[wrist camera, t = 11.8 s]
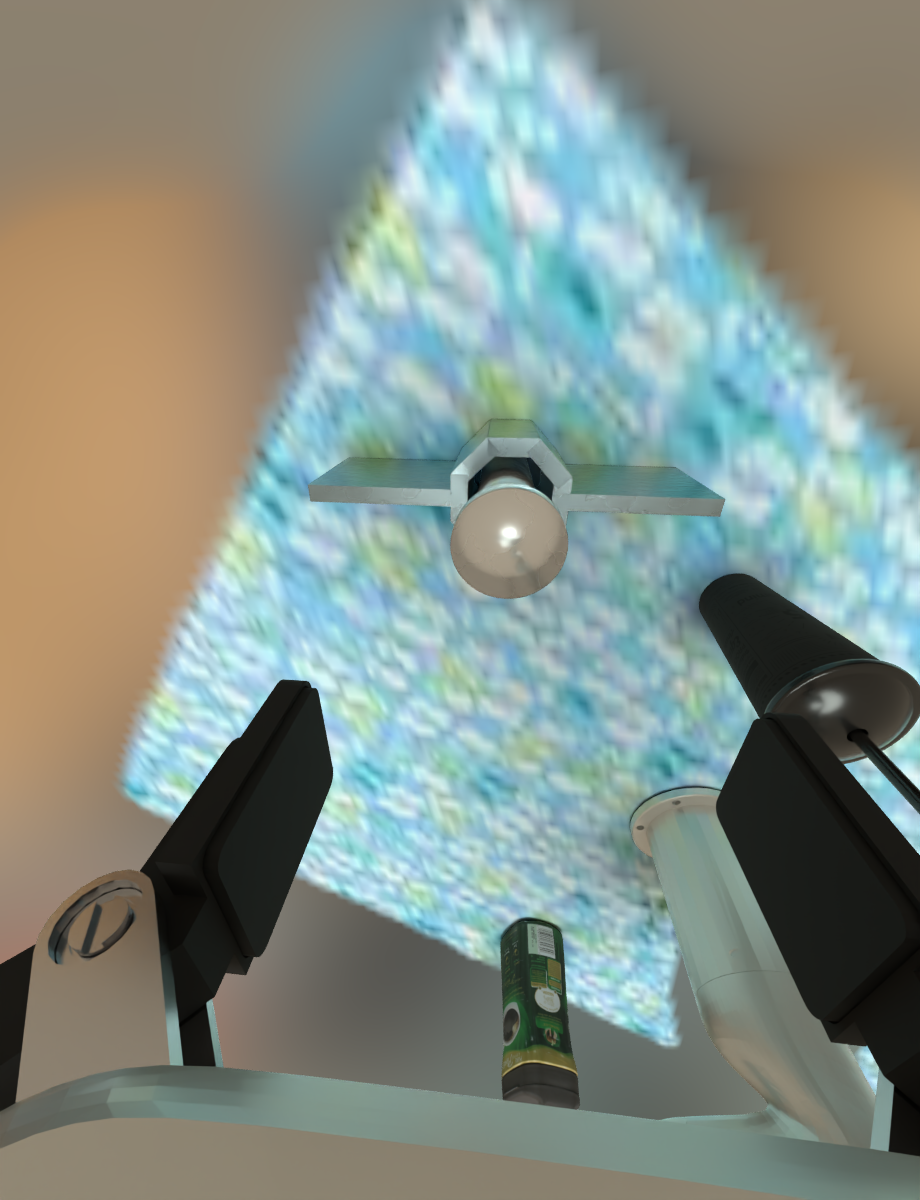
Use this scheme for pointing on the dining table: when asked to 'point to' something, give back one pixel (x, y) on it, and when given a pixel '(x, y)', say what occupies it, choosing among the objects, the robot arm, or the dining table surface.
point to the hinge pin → (508, 533)
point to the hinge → (557, 481)
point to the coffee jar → (536, 1019)
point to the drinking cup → (813, 674)
